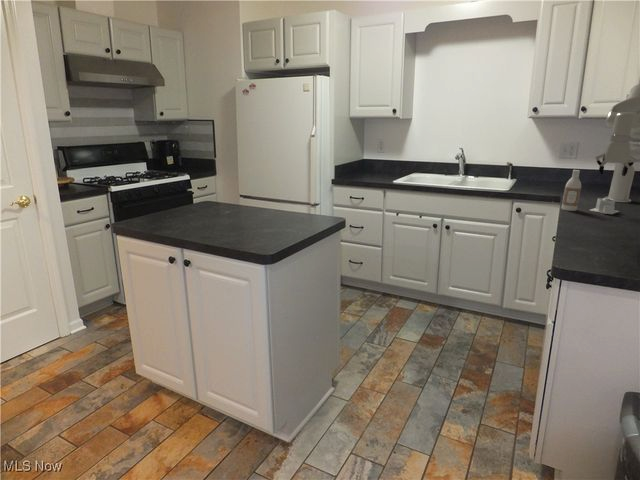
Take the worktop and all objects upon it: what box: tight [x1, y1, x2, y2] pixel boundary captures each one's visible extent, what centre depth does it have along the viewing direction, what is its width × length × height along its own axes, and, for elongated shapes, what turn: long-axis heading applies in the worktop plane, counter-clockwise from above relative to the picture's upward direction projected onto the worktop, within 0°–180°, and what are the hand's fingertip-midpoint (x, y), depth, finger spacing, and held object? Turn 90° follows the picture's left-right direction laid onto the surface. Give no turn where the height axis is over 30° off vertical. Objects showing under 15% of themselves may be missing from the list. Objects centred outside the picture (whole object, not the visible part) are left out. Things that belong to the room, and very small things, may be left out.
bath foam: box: [561, 169, 582, 212], centre depth 215 cm, size 7×7×20 cm
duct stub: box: [589, 197, 620, 215], centre depth 216 cm, size 10×10×6 cm
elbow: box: [595, 197, 616, 215], centre depth 214 cm, size 12×6×6 cm, turn 160°
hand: (611, 174), depth 212 cm, fingers open, 9 cm apart
